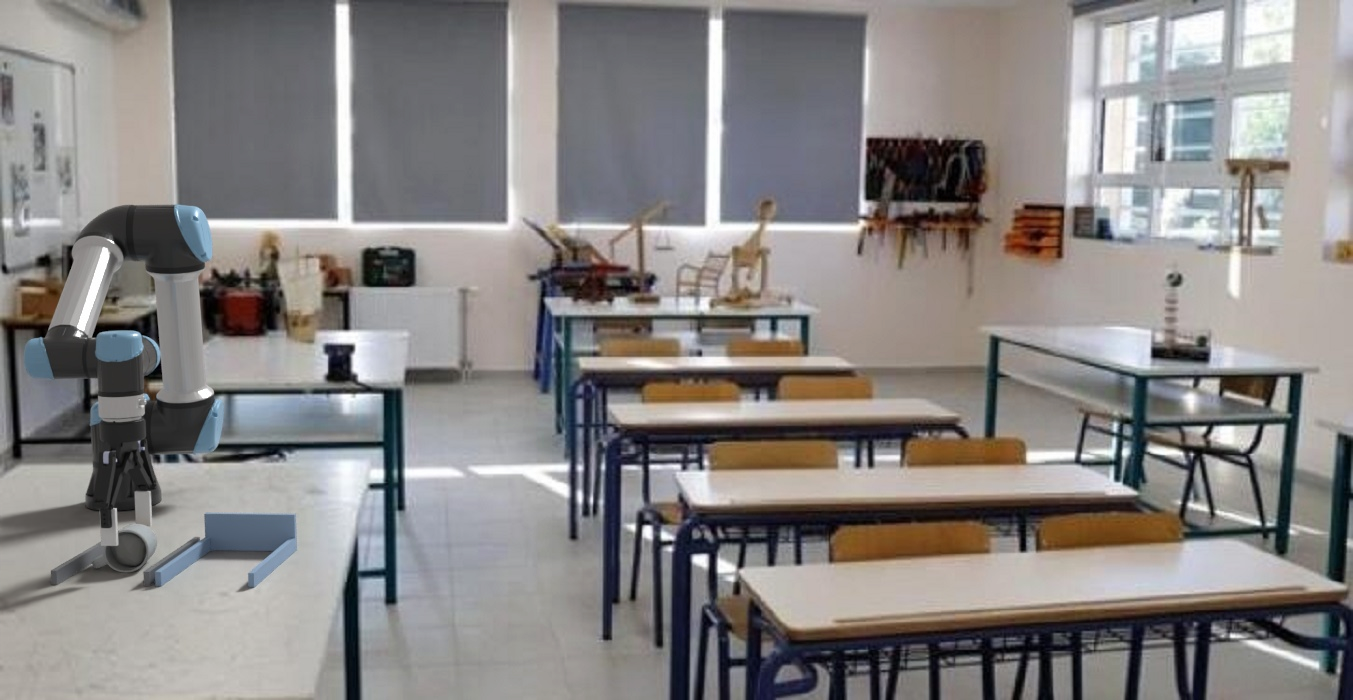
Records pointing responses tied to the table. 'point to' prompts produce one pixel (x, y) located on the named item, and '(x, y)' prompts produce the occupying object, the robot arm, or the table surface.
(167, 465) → the table surface
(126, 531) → the ceramic mug
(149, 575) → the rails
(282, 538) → the frame
